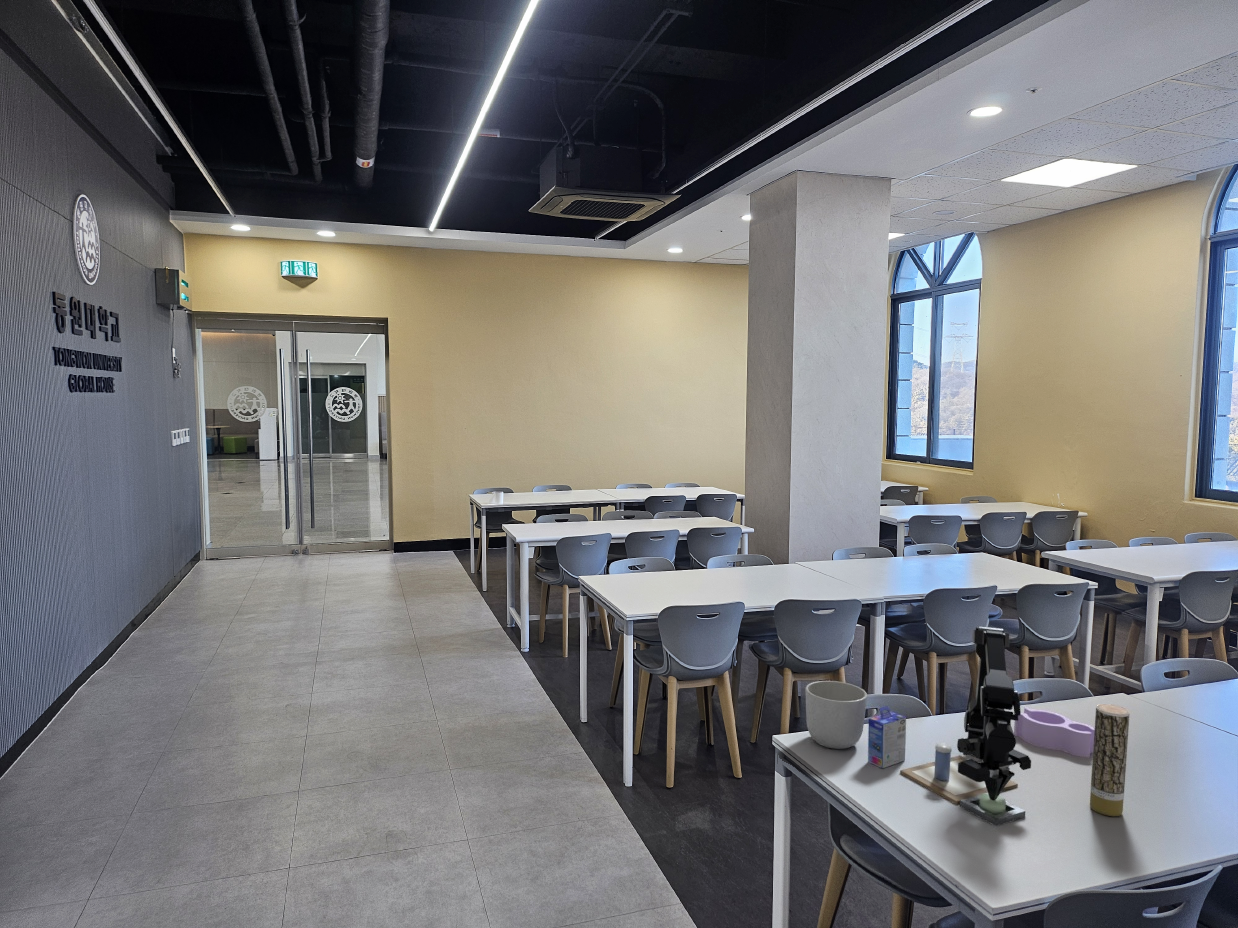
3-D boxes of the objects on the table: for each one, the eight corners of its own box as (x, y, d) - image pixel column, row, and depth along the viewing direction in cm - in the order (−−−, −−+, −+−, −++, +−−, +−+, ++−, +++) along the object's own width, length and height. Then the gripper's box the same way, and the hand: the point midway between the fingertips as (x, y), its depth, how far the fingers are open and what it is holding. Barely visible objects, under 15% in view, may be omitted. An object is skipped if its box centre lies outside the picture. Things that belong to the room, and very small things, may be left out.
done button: (990, 801, 193) (990, 791, 193) (1010, 812, 188) (1011, 802, 188) (974, 806, 191) (974, 796, 190) (994, 817, 186) (994, 807, 185)
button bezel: (988, 797, 196) (988, 791, 196) (1025, 816, 187) (1025, 810, 187) (960, 806, 192) (960, 800, 191) (996, 825, 183) (996, 819, 182)
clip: (1100, 749, 226) (1101, 726, 226) (1083, 761, 218) (1085, 737, 218) (1027, 727, 242) (1028, 705, 241) (1009, 737, 234) (1010, 714, 233)
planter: (813, 726, 238) (815, 676, 237) (871, 739, 230) (873, 687, 229) (795, 746, 224) (797, 693, 223) (856, 760, 215) (858, 706, 214)
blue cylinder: (941, 773, 206) (942, 741, 206) (953, 780, 203) (954, 747, 202) (930, 776, 205) (932, 744, 204) (942, 783, 201) (944, 750, 201)
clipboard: (959, 758, 218) (959, 753, 218) (1017, 786, 202) (1017, 781, 202) (900, 772, 209) (900, 767, 208) (956, 804, 192) (956, 798, 192)
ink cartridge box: (889, 753, 221) (891, 702, 220) (906, 760, 216) (908, 708, 215) (865, 761, 215) (868, 709, 214) (882, 769, 211) (885, 716, 210)
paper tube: (1122, 820, 186) (1129, 716, 185) (1089, 812, 190) (1095, 710, 188) (1122, 808, 192) (1129, 707, 190) (1089, 800, 196) (1096, 701, 194)
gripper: (993, 717, 199) (990, 777, 200) (940, 729, 191) (937, 792, 192) (1034, 734, 189) (1030, 797, 191) (980, 747, 181) (976, 813, 182)
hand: (992, 799), depth 189 cm, fingers closed, pressing on done button
